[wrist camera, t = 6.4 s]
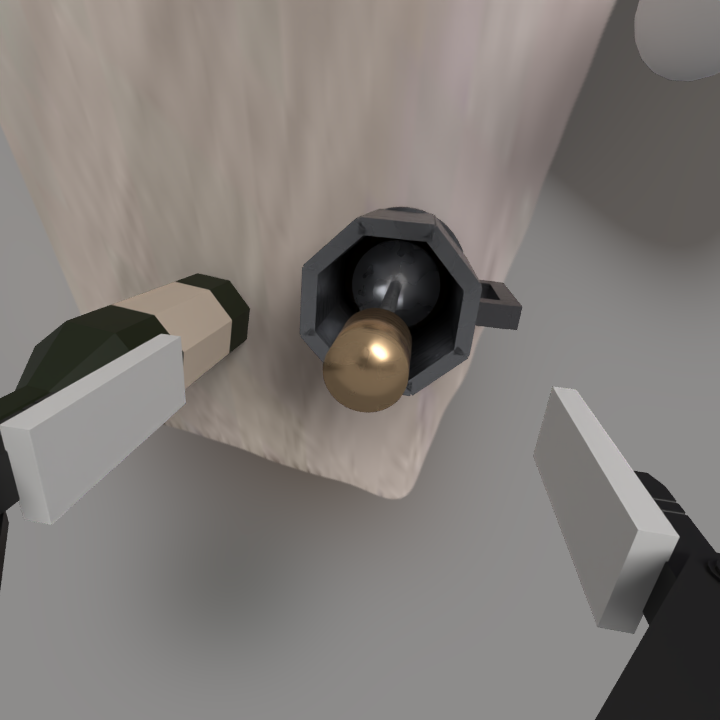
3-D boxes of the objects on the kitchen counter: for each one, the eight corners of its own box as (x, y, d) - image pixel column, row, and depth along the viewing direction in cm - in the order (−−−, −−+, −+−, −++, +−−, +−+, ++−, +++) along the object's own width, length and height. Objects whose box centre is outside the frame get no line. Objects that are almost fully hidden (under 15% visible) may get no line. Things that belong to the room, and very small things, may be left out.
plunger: (357, 235, 35) (285, 280, 18) (446, 244, 34) (464, 302, 17) (350, 320, 38) (281, 433, 20) (433, 330, 37) (436, 457, 19)
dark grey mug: (340, 200, 38) (299, 205, 26) (511, 217, 37) (550, 230, 25) (331, 328, 42) (293, 383, 30) (484, 348, 41) (507, 414, 29)
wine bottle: (192, 255, 42) (-271, 383, 14) (266, 305, 43) (-37, 521, 15) (158, 323, 45) (-276, 539, 17) (228, 369, 46) (-82, 647, 18)
